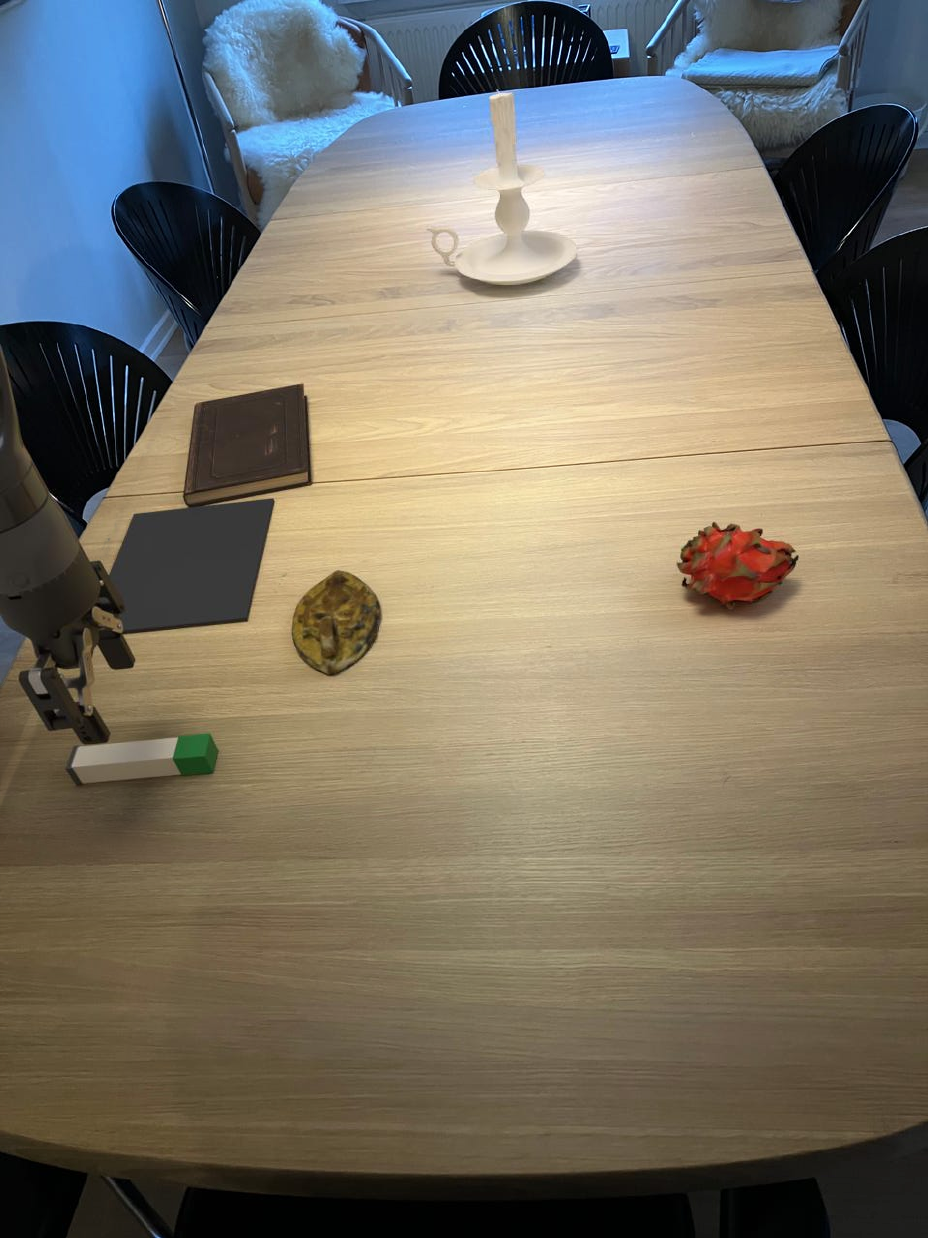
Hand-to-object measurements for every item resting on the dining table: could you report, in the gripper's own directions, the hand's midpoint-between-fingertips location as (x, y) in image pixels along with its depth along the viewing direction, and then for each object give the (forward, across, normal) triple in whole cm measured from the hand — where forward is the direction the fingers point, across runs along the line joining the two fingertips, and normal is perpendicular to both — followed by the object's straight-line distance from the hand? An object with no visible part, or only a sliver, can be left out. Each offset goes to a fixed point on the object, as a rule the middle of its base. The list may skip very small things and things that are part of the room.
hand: (112, 702), depth 79 cm
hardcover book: (+9, -54, +1) cm, 55 cm away
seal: (+9, -17, +16) cm, 25 cm away
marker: (+9, 0, 0) cm, 9 cm away
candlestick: (+10, -101, +38) cm, 108 cm away
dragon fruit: (+10, -16, +57) cm, 60 cm away
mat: (+9, -30, -3) cm, 31 cm away
